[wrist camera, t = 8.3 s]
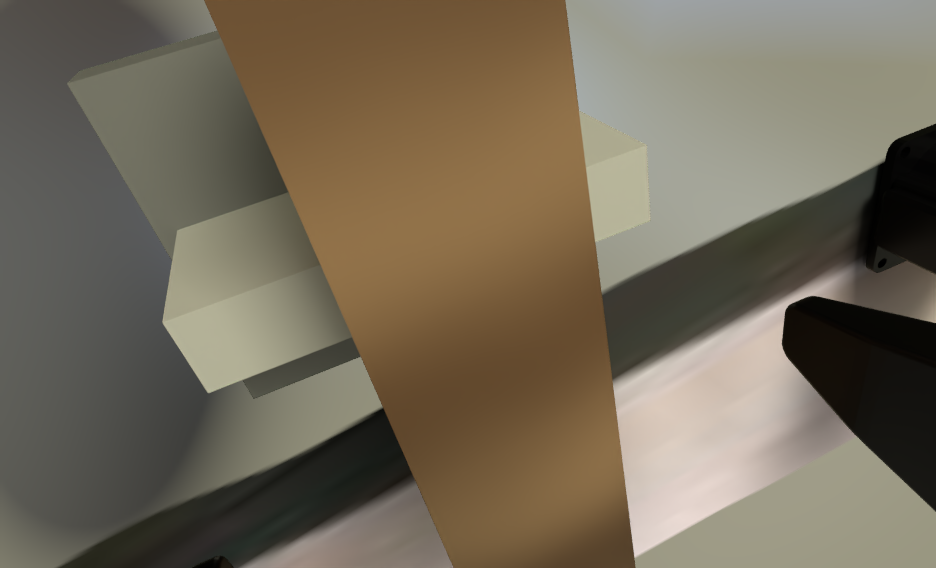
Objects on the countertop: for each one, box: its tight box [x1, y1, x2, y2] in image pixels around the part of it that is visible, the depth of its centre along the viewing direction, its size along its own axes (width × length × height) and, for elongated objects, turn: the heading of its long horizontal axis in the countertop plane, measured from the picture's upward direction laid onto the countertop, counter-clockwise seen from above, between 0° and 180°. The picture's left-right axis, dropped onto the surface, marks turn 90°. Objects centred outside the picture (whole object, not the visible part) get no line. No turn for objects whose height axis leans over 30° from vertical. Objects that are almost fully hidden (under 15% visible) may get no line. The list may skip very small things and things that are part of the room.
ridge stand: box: [67, 31, 650, 398], centre depth 16 cm, size 12×10×6 cm
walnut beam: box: [204, 0, 635, 568], centre depth 12 cm, size 16×4×4 cm, turn 14°
